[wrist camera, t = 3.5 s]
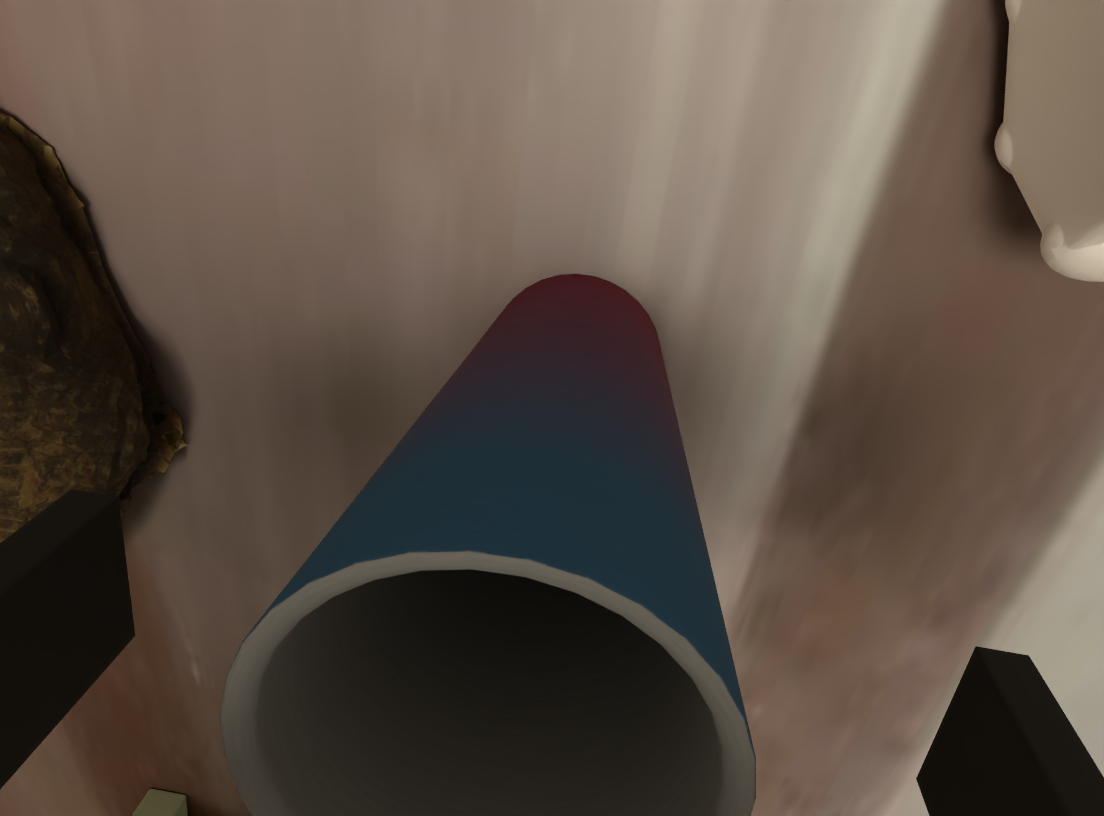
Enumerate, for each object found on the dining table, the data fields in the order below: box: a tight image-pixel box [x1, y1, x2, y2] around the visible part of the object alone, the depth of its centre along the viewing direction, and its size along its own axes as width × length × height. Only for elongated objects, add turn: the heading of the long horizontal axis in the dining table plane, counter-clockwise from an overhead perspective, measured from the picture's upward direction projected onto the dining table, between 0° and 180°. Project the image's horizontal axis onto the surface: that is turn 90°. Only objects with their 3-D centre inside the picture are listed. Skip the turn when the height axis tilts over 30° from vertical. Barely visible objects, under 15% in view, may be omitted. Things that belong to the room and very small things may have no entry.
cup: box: [220, 274, 756, 816], centre depth 17 cm, size 7×7×15 cm
